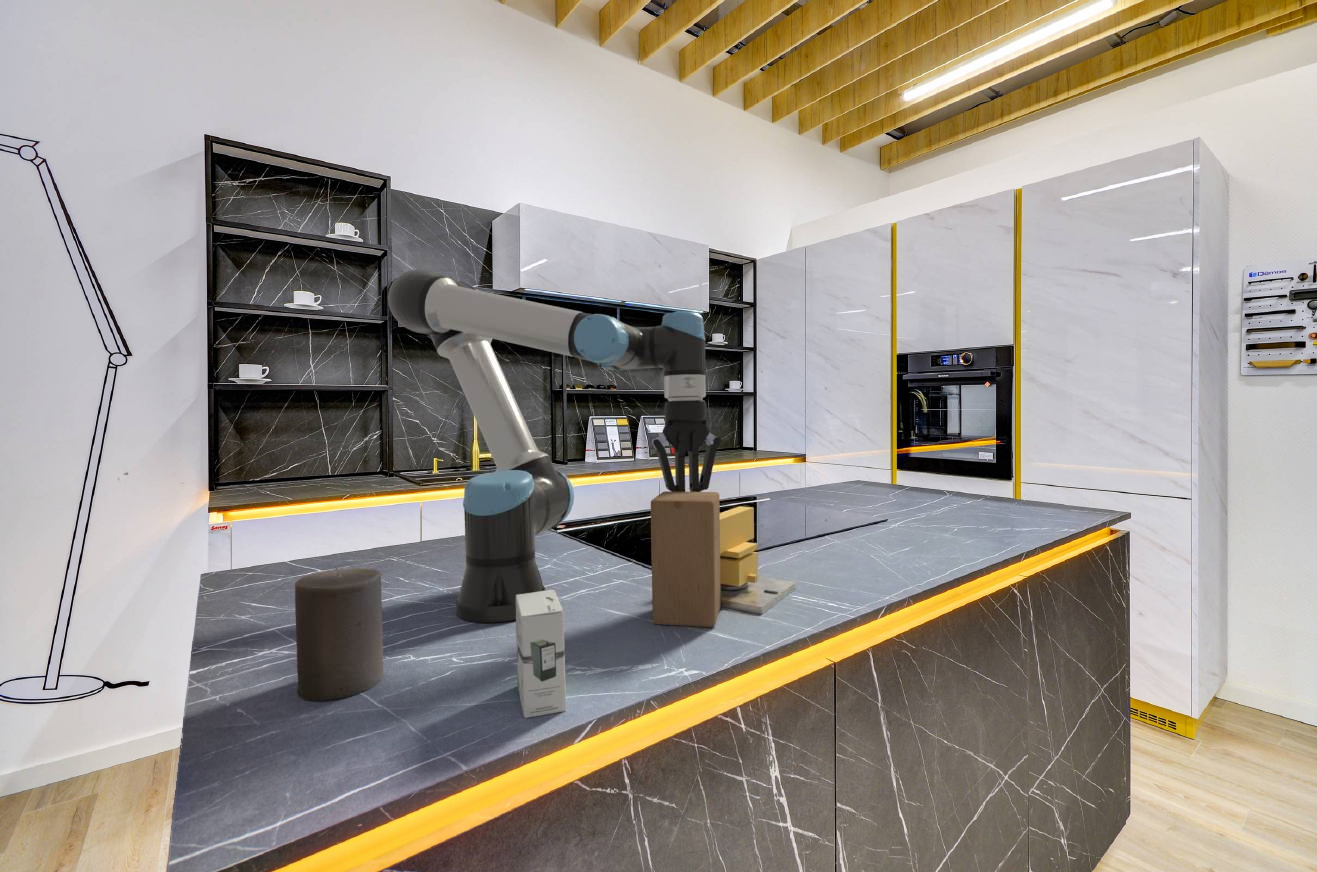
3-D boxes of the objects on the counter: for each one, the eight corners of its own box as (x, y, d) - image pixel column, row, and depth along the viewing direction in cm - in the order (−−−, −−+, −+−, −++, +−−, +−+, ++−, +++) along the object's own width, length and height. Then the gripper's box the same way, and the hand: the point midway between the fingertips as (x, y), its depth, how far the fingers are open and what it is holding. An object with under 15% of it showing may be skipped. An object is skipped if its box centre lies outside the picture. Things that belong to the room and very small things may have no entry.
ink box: (516, 685, 72) (513, 592, 71) (556, 678, 74) (553, 587, 73) (523, 719, 64) (520, 615, 63) (567, 711, 65) (565, 609, 65)
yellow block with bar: (681, 584, 104) (680, 517, 103) (722, 563, 117) (721, 504, 116) (737, 594, 98) (736, 523, 97) (773, 571, 111) (772, 509, 110)
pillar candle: (290, 708, 67) (286, 581, 66) (304, 673, 76) (301, 561, 75) (383, 692, 71) (380, 572, 70) (385, 660, 80) (383, 553, 79)
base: (660, 594, 106) (660, 541, 106) (703, 573, 120) (702, 525, 119) (761, 614, 95) (761, 554, 95) (796, 588, 109) (795, 535, 108)
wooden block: (714, 628, 89) (713, 500, 88) (652, 625, 91) (649, 499, 90) (720, 606, 99) (719, 491, 98) (664, 604, 101) (662, 490, 100)
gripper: (653, 400, 99) (657, 535, 100) (726, 398, 102) (729, 530, 103) (646, 401, 106) (649, 527, 107) (713, 399, 109) (716, 523, 110)
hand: (688, 529), depth 105 cm, fingers closed
